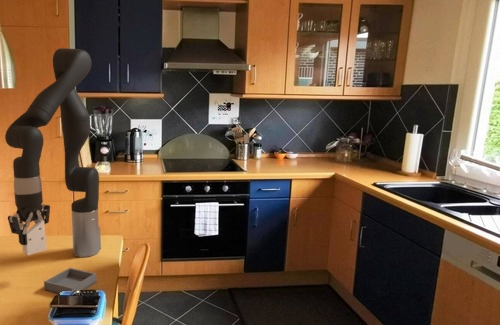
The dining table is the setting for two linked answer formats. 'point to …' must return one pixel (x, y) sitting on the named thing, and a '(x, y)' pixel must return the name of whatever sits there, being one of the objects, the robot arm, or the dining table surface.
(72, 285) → the gray square tray
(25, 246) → the white angled block
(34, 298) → the dining table surface
